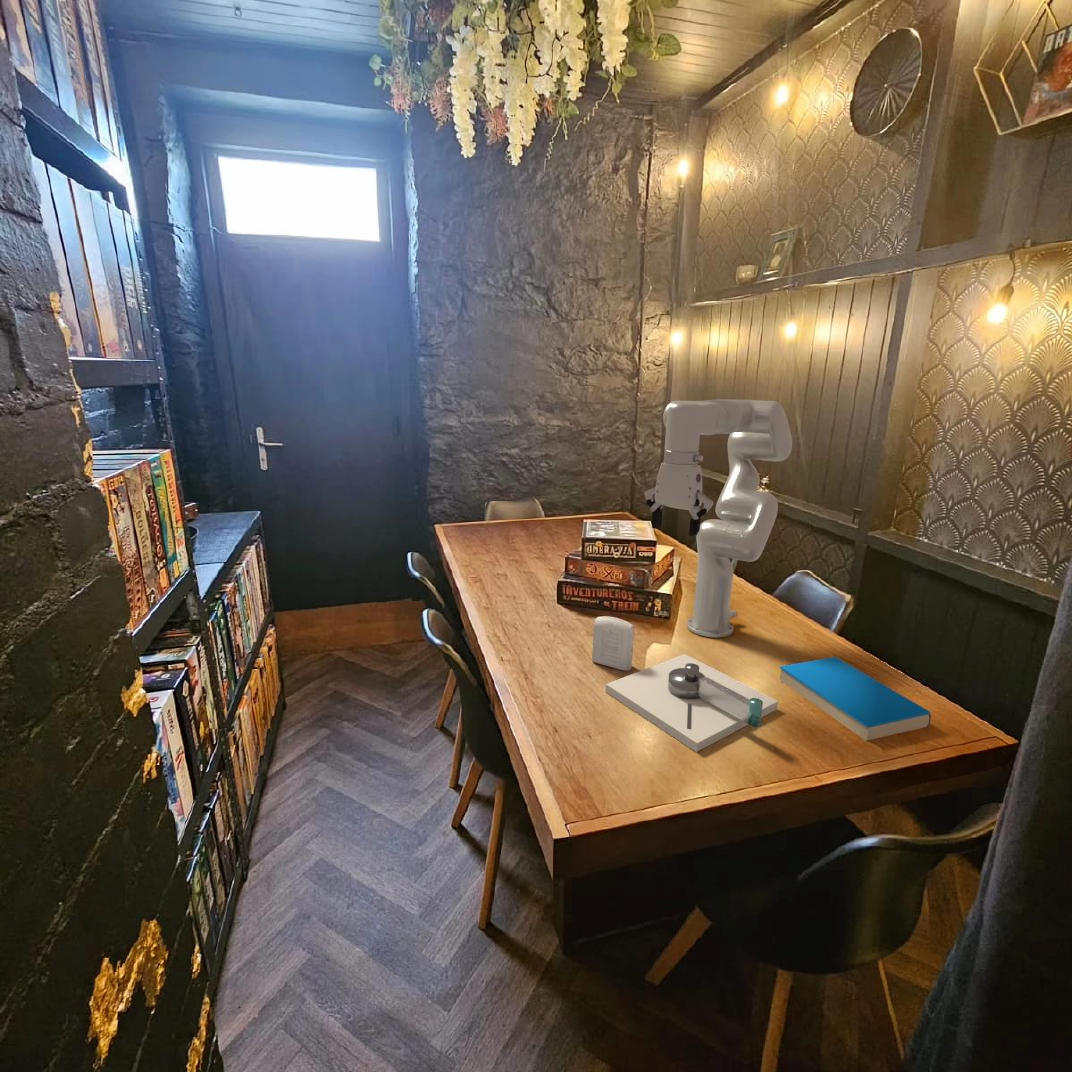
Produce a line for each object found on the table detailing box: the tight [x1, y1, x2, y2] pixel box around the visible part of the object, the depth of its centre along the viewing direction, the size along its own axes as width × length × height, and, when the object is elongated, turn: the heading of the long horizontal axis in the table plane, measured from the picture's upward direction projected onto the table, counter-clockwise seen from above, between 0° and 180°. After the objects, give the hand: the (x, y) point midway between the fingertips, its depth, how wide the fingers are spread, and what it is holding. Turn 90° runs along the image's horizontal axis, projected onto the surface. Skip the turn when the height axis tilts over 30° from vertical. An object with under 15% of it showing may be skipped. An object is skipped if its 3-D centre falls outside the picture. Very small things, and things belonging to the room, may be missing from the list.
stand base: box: [605, 653, 779, 753], centre depth 127 cm, size 26×26×2 cm
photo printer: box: [591, 615, 635, 672], centre depth 141 cm, size 10×4×12 cm, turn 60°
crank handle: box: [668, 663, 763, 728], centre depth 121 cm, size 22×8×6 cm, turn 35°
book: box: [779, 656, 932, 742], centre depth 127 cm, size 17×4×25 cm
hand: (674, 531), depth 135 cm, fingers open, 9 cm apart
